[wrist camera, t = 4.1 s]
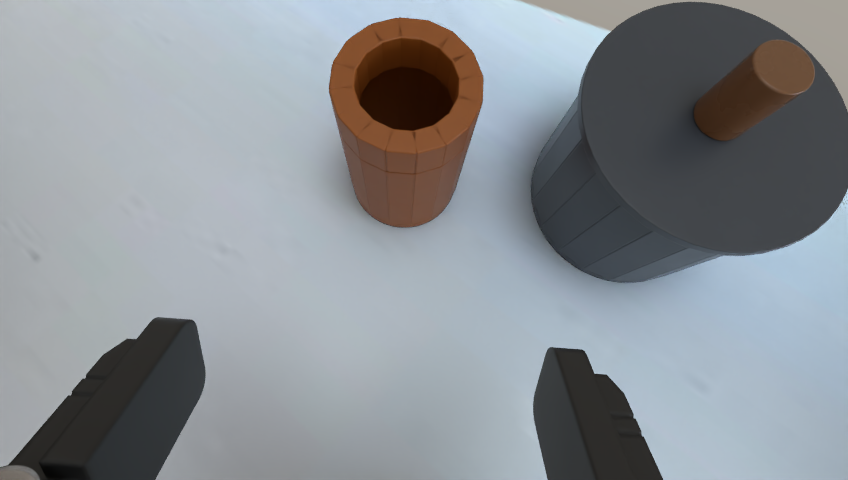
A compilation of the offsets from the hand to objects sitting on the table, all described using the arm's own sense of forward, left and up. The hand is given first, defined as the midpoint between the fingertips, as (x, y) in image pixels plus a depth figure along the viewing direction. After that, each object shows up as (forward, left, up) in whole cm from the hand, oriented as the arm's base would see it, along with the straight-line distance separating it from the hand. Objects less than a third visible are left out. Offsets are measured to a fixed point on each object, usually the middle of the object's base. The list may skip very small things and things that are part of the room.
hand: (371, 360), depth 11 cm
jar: (0, +11, -15) cm, 19 cm away
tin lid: (+13, +11, -6) cm, 18 cm away
